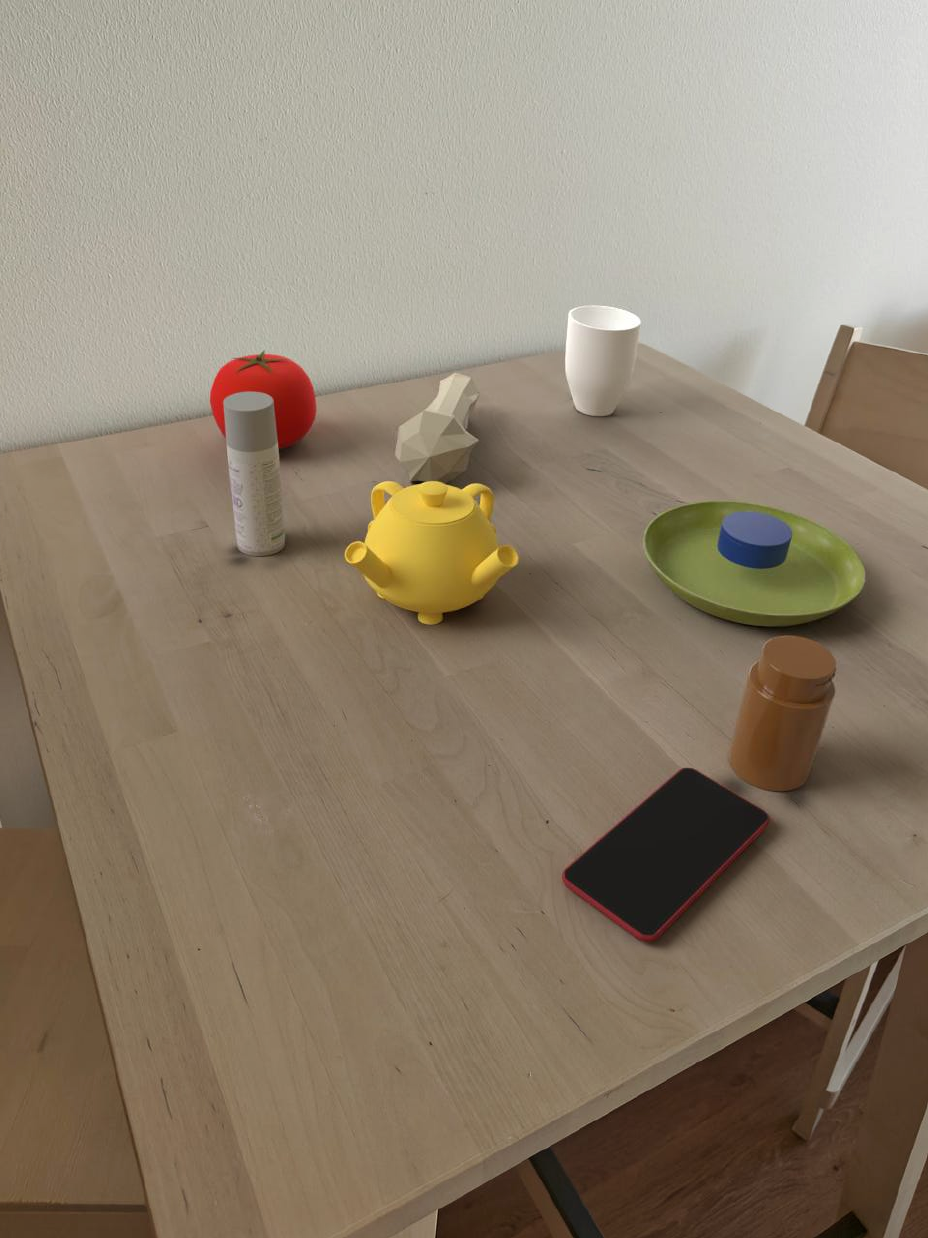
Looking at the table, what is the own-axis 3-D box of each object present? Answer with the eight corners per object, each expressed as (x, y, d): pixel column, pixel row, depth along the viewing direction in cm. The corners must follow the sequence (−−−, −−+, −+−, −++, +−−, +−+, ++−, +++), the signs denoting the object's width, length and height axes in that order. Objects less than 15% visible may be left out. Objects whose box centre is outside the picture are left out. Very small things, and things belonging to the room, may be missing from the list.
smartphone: (556, 875, 65) (686, 763, 74) (555, 884, 66) (684, 771, 75) (649, 943, 61) (775, 815, 70) (647, 952, 62) (772, 824, 71)
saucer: (767, 673, 86) (775, 642, 84) (594, 567, 98) (598, 538, 96) (899, 593, 97) (909, 565, 95) (728, 507, 109) (734, 480, 108)
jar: (825, 769, 76) (861, 662, 70) (775, 803, 73) (808, 694, 67) (761, 726, 80) (790, 621, 74) (711, 757, 77) (737, 650, 71)
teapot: (346, 639, 87) (342, 526, 81) (356, 556, 98) (354, 451, 92) (512, 643, 88) (522, 531, 81) (504, 560, 99) (512, 456, 92)
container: (227, 549, 98) (211, 404, 90) (255, 527, 102) (241, 387, 93) (267, 561, 97) (255, 415, 88) (294, 539, 100) (284, 397, 92)
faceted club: (378, 484, 109) (420, 403, 129) (452, 512, 109) (482, 427, 130) (401, 411, 104) (441, 339, 125) (478, 440, 104) (505, 364, 125)
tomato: (288, 415, 125) (283, 332, 119) (335, 451, 117) (332, 364, 111) (197, 436, 119) (187, 350, 113) (240, 475, 111) (232, 385, 105)
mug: (620, 427, 125) (633, 332, 119) (551, 415, 128) (560, 321, 121) (638, 393, 135) (651, 304, 128) (574, 383, 137) (583, 294, 130)
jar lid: (702, 545, 96) (707, 523, 95) (745, 526, 100) (750, 504, 98) (757, 576, 92) (762, 553, 91) (800, 555, 95) (806, 532, 94)
